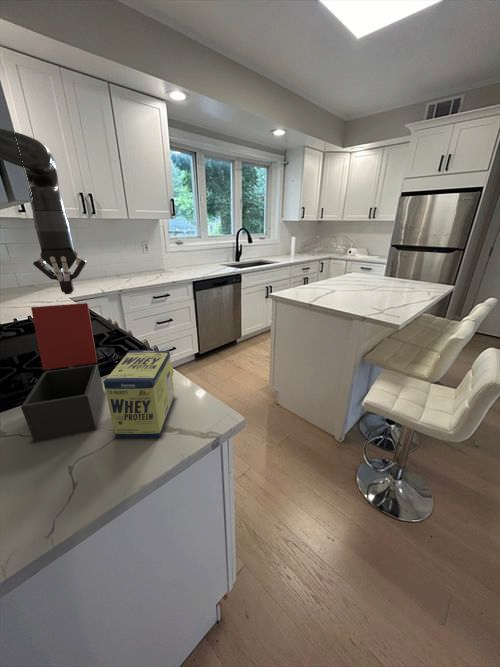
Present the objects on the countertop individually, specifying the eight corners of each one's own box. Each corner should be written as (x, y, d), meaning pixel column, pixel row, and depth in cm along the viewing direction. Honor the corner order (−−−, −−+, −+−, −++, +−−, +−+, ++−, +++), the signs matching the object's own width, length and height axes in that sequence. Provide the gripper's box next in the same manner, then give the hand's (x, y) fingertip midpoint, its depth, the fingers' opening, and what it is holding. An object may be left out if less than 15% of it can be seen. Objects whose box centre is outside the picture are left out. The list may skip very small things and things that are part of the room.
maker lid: (87, 303, 73) (87, 303, 74) (30, 307, 69) (32, 307, 70) (96, 363, 76) (97, 362, 76) (42, 370, 72) (44, 369, 73)
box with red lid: (96, 429, 66) (87, 395, 63) (34, 442, 63) (20, 406, 59) (104, 393, 80) (97, 364, 76) (53, 402, 76) (43, 371, 72)
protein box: (115, 439, 64) (101, 381, 58) (138, 399, 78) (129, 349, 72) (160, 439, 64) (152, 381, 58) (175, 398, 78) (170, 349, 72)
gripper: (84, 229, 79) (96, 289, 85) (28, 229, 75) (45, 292, 81) (78, 230, 72) (91, 295, 79) (17, 230, 68) (37, 298, 75)
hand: (68, 293), depth 80 cm, fingers closed
